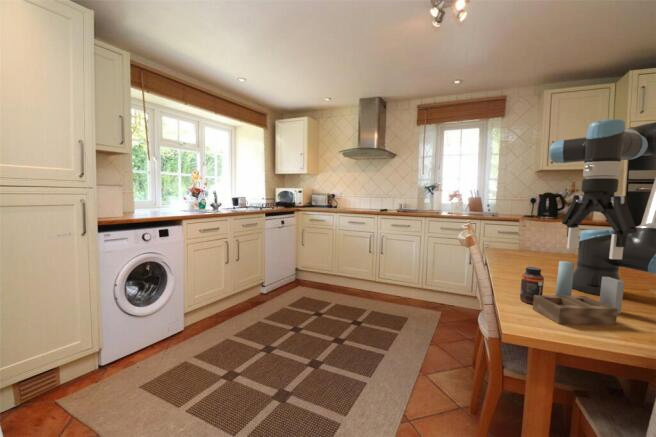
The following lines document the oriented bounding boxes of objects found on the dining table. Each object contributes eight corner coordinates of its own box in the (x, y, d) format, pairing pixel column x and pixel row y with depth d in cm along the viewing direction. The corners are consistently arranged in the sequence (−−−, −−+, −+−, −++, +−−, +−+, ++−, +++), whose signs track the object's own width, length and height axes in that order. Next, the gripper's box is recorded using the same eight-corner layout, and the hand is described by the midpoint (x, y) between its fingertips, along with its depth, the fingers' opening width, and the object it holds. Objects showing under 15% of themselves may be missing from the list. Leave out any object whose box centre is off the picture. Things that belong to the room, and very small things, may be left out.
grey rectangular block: (604, 307, 94) (608, 276, 93) (620, 314, 89) (624, 281, 88) (598, 307, 94) (602, 276, 93) (614, 314, 89) (617, 281, 88)
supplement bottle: (545, 306, 94) (548, 271, 93) (524, 304, 95) (527, 269, 94) (536, 299, 100) (539, 266, 99) (516, 297, 101) (519, 265, 100)
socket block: (583, 310, 91) (585, 296, 91) (615, 324, 82) (617, 308, 81) (532, 309, 91) (533, 295, 91) (558, 323, 81) (560, 307, 81)
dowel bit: (563, 298, 101) (567, 261, 100) (573, 303, 97) (577, 264, 96) (552, 298, 101) (556, 260, 100) (561, 302, 97) (565, 263, 96)
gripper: (552, 179, 95) (546, 245, 97) (633, 175, 70) (623, 263, 72) (575, 180, 95) (568, 245, 97) (664, 176, 70) (653, 264, 72)
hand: (592, 253), depth 85 cm, fingers open, 13 cm apart
